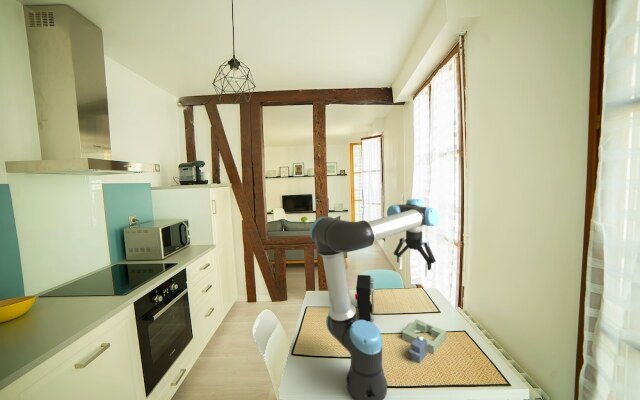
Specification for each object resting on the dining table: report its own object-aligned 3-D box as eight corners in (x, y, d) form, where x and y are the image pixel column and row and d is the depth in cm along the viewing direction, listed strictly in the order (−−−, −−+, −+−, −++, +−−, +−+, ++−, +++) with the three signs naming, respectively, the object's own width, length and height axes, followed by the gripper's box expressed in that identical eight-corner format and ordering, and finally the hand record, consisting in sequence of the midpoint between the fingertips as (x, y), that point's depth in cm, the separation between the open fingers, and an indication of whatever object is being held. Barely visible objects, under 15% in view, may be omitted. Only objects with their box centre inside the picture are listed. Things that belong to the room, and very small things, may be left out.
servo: (418, 365, 102) (418, 347, 102) (409, 360, 105) (409, 343, 105) (428, 352, 110) (428, 336, 109) (419, 348, 112) (420, 332, 112)
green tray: (433, 354, 108) (433, 346, 108) (402, 338, 119) (402, 331, 119) (446, 338, 119) (446, 331, 118) (416, 325, 130) (416, 319, 129)
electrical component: (374, 324, 132) (374, 288, 130) (355, 322, 134) (354, 287, 132) (373, 307, 149) (373, 275, 147) (357, 305, 151) (356, 274, 149)
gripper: (443, 232, 114) (442, 276, 116) (394, 226, 131) (393, 264, 133) (437, 235, 109) (436, 281, 110) (387, 228, 126) (386, 268, 128)
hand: (413, 272), depth 122 cm, fingers open, 13 cm apart
